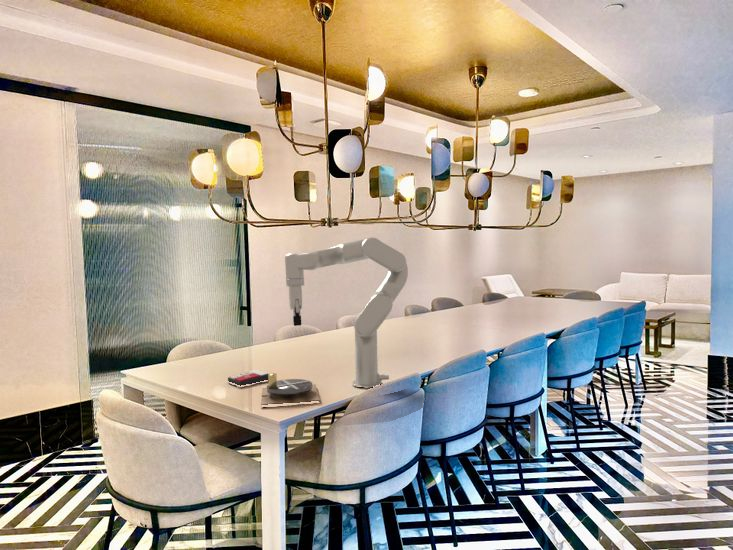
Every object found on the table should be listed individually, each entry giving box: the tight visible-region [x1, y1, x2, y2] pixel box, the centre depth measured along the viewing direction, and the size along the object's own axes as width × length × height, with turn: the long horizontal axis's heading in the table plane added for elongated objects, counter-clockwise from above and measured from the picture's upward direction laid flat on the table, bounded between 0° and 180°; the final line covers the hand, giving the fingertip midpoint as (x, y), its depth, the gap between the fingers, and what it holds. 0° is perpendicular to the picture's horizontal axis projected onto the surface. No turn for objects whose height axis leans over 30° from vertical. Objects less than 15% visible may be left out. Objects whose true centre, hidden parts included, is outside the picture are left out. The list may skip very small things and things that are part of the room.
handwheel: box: [266, 372, 313, 396], centre depth 202 cm, size 18×18×9 cm
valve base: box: [260, 383, 321, 406], centre depth 202 cm, size 22×22×2 cm
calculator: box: [227, 369, 269, 386], centre depth 227 cm, size 11×4×15 cm
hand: (297, 325), depth 216 cm, fingers closed
